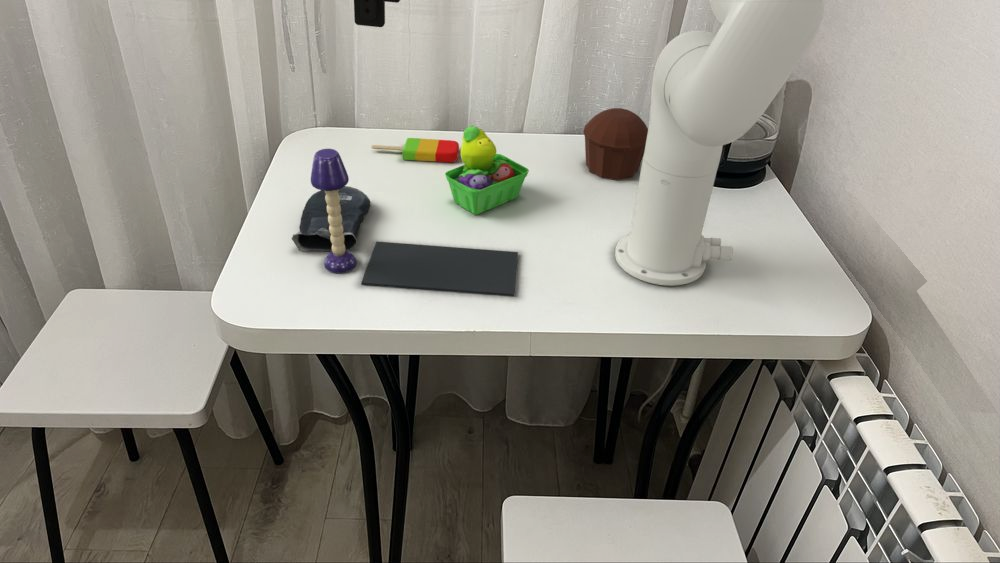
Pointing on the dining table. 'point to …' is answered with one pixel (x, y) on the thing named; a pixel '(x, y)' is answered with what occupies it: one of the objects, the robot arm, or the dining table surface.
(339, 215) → the toy lamp
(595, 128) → the muffin
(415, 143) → the popsicle
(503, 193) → the fruit basket
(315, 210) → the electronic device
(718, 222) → the dining table surface
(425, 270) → the mat
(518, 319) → the dining table surface
